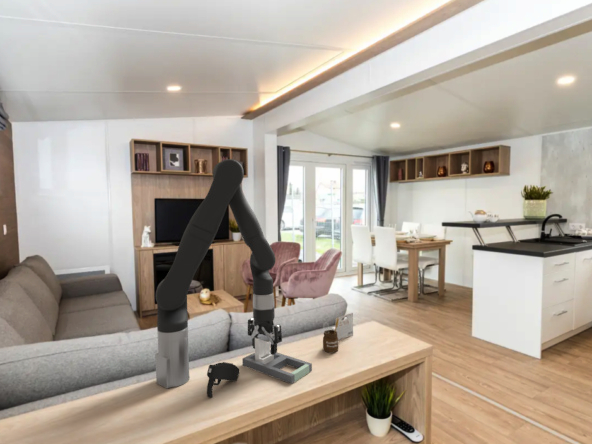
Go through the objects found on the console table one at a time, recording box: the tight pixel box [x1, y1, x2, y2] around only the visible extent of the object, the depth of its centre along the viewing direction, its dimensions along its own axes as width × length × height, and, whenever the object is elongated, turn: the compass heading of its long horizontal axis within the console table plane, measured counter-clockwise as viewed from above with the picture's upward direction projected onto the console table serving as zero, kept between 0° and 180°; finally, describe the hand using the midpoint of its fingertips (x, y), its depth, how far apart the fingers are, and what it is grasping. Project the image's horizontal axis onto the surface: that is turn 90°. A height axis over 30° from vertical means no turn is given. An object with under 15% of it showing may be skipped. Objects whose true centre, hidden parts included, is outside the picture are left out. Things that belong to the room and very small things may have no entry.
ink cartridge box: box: [331, 312, 354, 341], centre depth 150 cm, size 2×11×10 cm, turn 130°
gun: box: [206, 361, 240, 399], centre depth 110 cm, size 3×16×10 cm, turn 155°
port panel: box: [242, 349, 313, 385], centre depth 122 cm, size 11×22×2 cm, turn 52°
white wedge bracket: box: [254, 337, 274, 364], centre depth 125 cm, size 4×10×9 cm, turn 143°
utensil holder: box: [322, 317, 339, 354], centre depth 137 cm, size 6×6×12 cm
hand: (264, 351), depth 125 cm, fingers open, 8 cm apart
